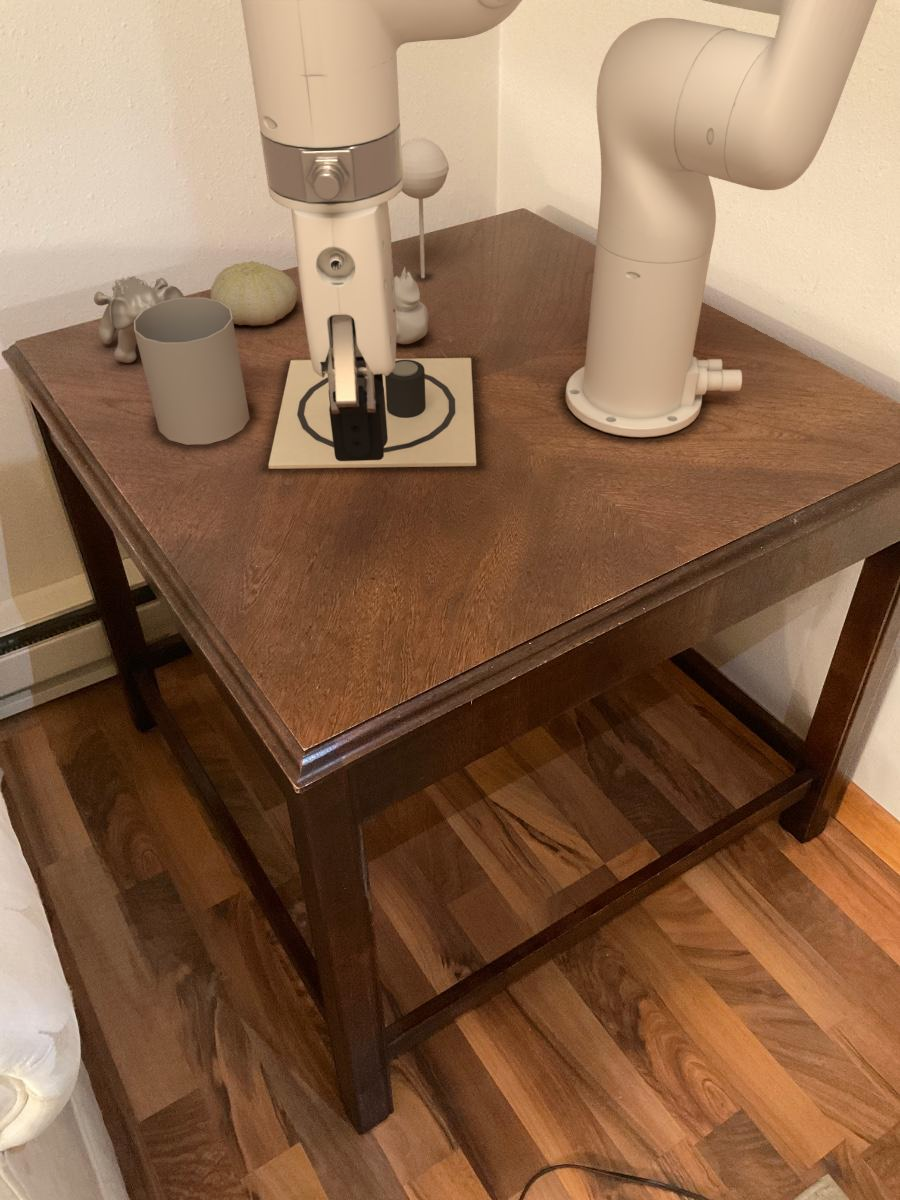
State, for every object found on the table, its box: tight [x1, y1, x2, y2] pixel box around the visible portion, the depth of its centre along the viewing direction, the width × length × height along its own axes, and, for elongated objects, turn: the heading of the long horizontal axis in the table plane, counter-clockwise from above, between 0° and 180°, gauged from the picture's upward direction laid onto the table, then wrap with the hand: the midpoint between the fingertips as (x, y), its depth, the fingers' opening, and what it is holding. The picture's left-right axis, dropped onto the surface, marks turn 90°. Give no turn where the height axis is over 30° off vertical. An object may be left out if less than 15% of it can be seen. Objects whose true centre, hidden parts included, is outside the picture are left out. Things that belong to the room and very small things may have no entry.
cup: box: [134, 296, 251, 446], centre depth 88 cm, size 8×8×10 cm
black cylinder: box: [385, 360, 426, 418], centre depth 90 cm, size 4×4×4 cm
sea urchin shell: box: [209, 260, 298, 327], centre depth 105 cm, size 9×8×8 cm
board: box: [268, 357, 477, 470], centre depth 92 cm, size 18×18×1 cm
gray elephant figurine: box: [93, 275, 186, 364], centre depth 98 cm, size 9×12×8 cm
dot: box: [329, 376, 388, 446], centre depth 65 cm, size 4×4×4 cm
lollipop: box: [401, 137, 450, 279], centre depth 107 cm, size 6×6×15 cm
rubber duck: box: [394, 266, 430, 345], centre depth 100 cm, size 5×7×8 cm
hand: (361, 436), depth 67 cm, fingers closed on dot, 3 cm apart
